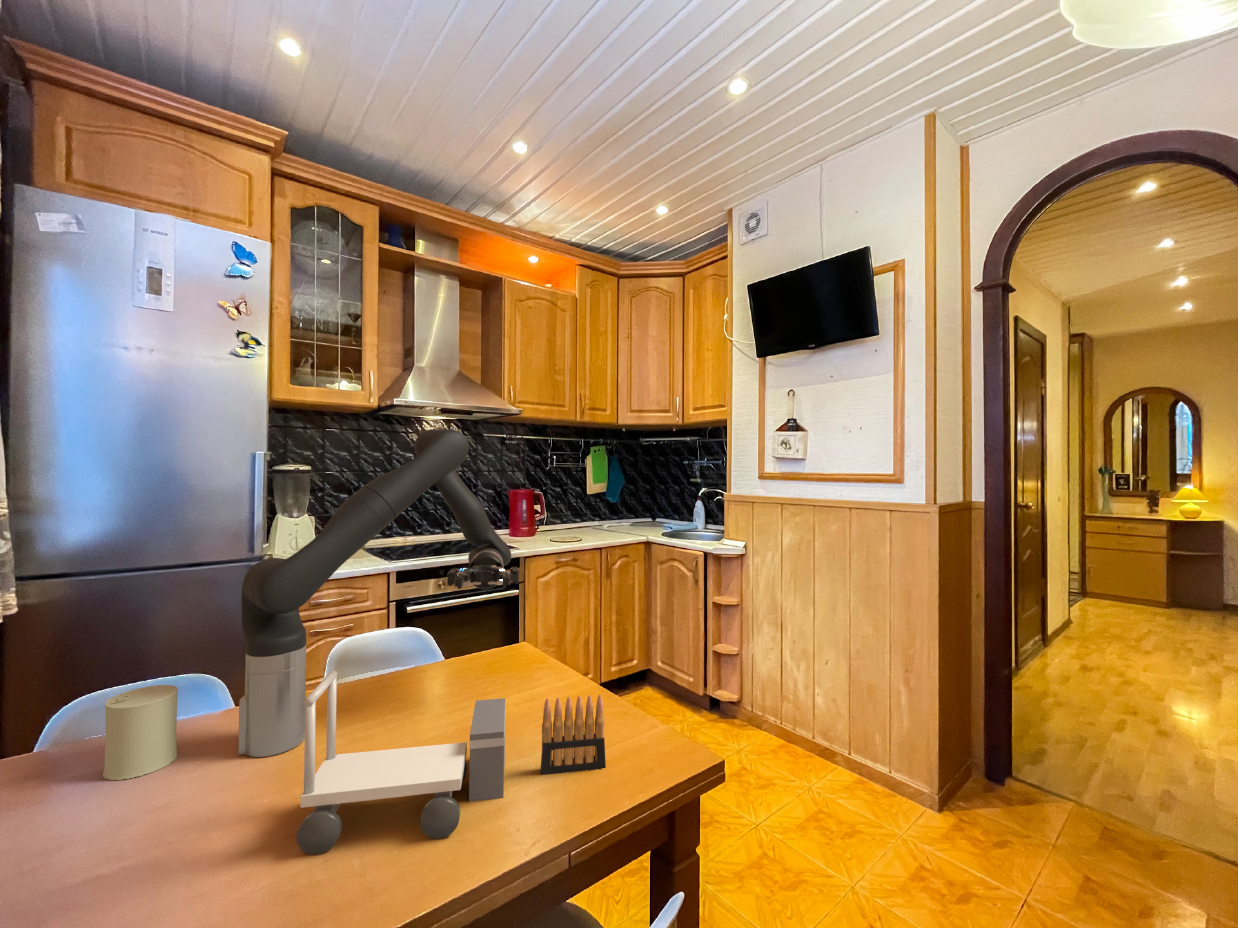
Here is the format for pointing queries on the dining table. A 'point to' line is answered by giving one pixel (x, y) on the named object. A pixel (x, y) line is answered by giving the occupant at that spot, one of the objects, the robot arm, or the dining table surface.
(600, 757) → the ammunition clip
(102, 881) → the dining table surface
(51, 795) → the dining table surface
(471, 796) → the grey lidded box
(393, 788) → the trolley
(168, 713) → the can
